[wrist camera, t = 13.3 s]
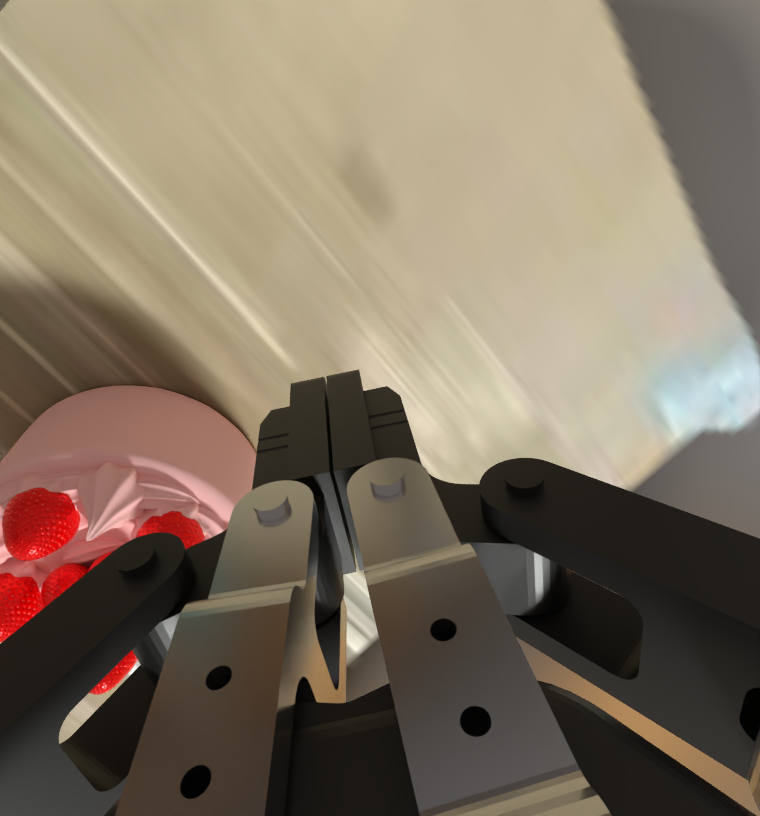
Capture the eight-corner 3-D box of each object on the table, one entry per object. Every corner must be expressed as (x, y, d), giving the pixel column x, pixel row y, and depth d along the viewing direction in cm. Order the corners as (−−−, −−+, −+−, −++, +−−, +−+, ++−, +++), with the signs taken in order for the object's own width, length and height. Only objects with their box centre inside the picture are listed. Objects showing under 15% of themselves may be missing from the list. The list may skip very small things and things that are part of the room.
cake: (314, 485, 49) (317, 618, 37) (161, 604, 54) (119, 757, 42) (125, 330, 41) (47, 436, 28) (-37, 488, 45) (-164, 637, 33)
